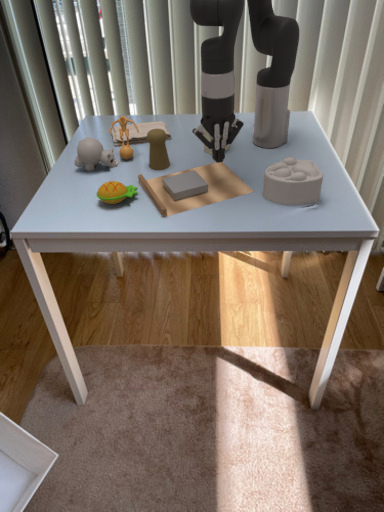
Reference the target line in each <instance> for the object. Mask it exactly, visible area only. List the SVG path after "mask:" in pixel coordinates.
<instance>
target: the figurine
mask: <svg viewBox="0 0 384 512" xmlns="http://www.w3.org/2000/svg"><path fill="white" fill-rule="evenodd" d="M117 123H119V126H121V128H122V129H119V131H120V138H121V140H122V146H120V149H119V151H118V152H119V153H118V154H119V156H120V158H121V159H123V160H130V159H132V158H133V157H134V149H133V148H132V147H131V145H129V138H128V137H129V129H128V128H127V129H126V126H127V125H128V123H132V124H134V126H135V128H136V129H137V133H139V130H138V128H137V126H136V124H137V123H136V122H135V121H134V120H132V119H129V117H126V116H125V115H121V116H120V117H119V118H117V119H116V120H114V121H113V122H112V123H111V126H110V128H109V135H112V131H111V130H112V128H113V127H114V124H117ZM123 132H125V135H126V137H127V145H124V140H123V138H122V136H123Z"/></svg>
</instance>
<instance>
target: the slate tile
mask: <svg viewBox="0 0 384 512" xmlns="http://www.w3.org/2000/svg"><path fill="white" fill-rule="evenodd" d="M162 182H163V186H164V188H165V189H166V190H167V191H168V193H169V194H170V195H171V197H172V198H173V199H174V201H175V200H178V199H182V198H186V197H189V196H193V195H197V194H200V193H204V192H208V184H207V183H206V182H205V181H204V179H203V178H202V177H201V176H200V175H199V174H198V173H197V172H196V171H195V170H194V171H190V172H186V173H182V174H178V175H174V176H170V177H166V178H162Z"/></svg>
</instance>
